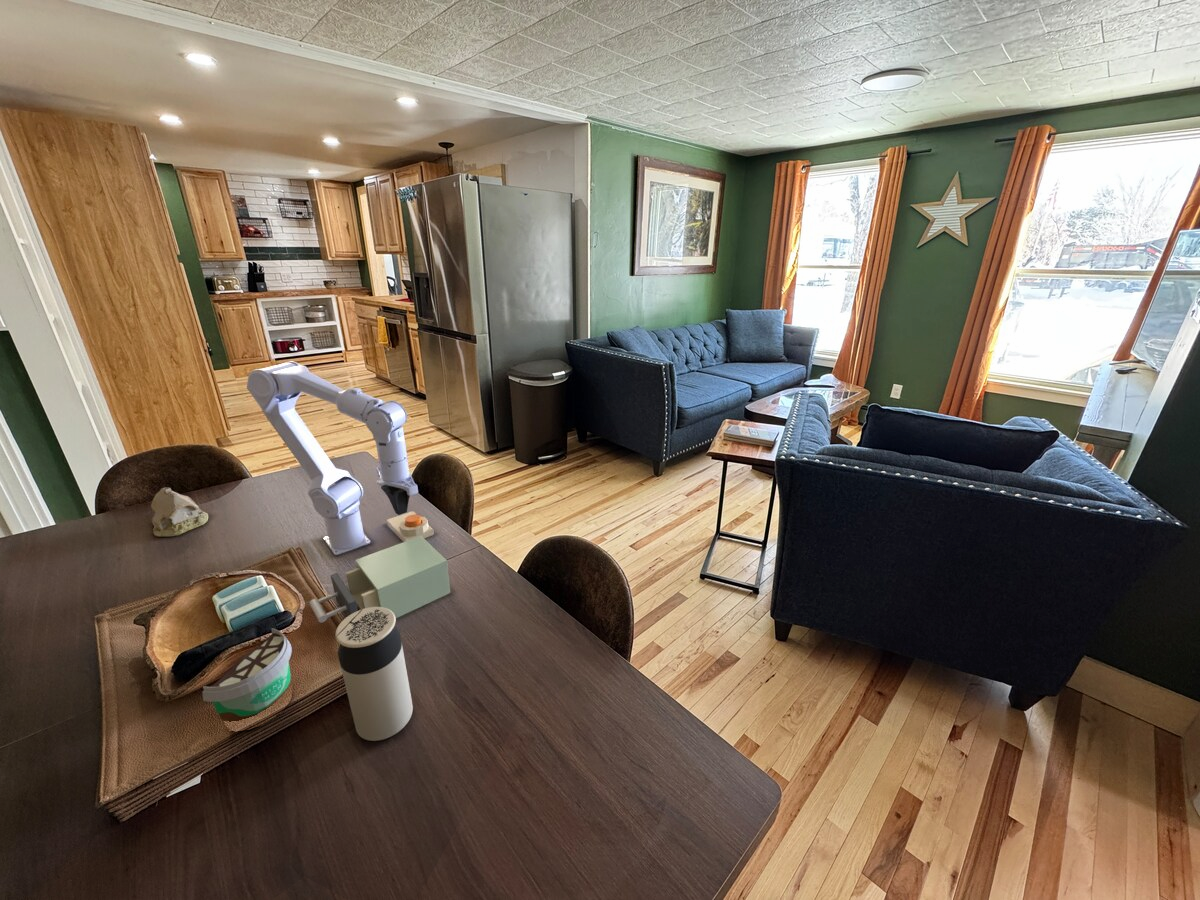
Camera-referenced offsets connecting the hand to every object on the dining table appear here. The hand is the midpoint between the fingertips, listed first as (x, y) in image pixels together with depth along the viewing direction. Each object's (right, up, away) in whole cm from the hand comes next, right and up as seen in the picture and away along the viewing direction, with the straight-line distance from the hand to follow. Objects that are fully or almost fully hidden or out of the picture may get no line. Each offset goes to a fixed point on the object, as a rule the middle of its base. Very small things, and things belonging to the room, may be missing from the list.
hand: (401, 512), depth 108 cm
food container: (-5, -26, -35) cm, 44 cm away
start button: (-1, -4, +9) cm, 10 cm away
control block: (-3, -6, +12) cm, 14 cm away
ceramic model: (-62, -5, +13) cm, 63 cm away
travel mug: (+13, -27, -36) cm, 46 cm away
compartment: (-1, -16, -15) cm, 22 cm away
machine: (+5, -15, -10) cm, 19 cm away
